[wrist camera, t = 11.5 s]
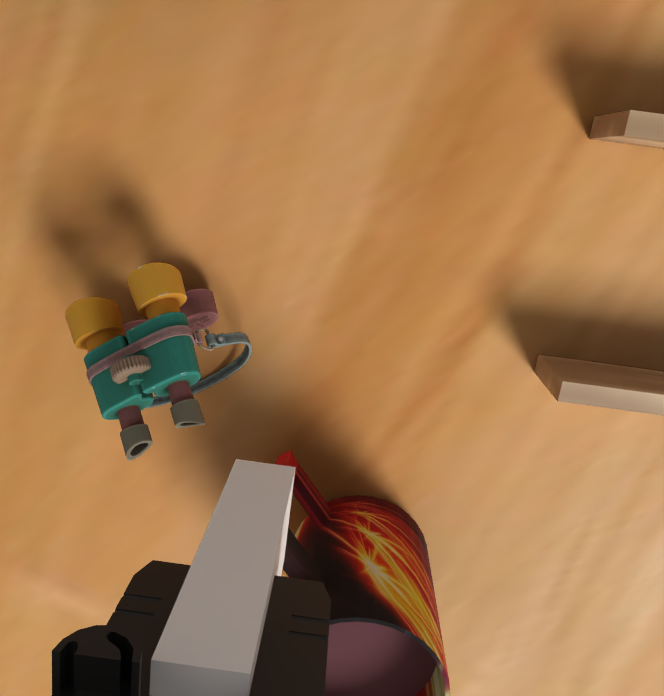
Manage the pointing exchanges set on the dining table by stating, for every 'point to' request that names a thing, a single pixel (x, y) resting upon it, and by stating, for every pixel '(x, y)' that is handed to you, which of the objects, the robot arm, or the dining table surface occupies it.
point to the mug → (369, 593)
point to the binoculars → (150, 351)
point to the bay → (600, 378)
